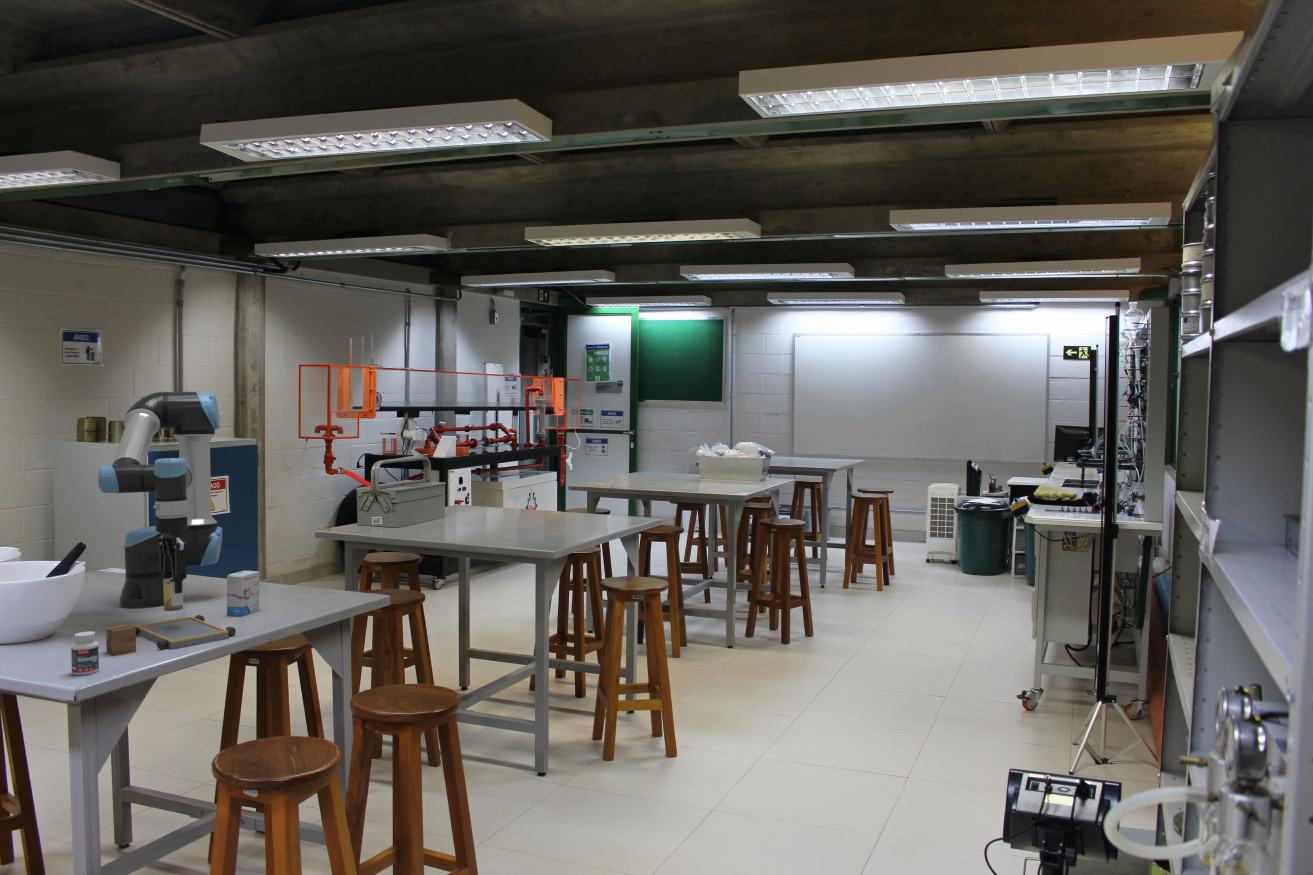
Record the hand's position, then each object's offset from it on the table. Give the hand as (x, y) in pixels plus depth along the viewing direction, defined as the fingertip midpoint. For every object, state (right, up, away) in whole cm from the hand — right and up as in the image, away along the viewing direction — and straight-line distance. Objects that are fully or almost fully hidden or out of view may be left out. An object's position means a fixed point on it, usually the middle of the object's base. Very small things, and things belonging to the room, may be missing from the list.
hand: (173, 603), depth 242 cm
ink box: (+8, -7, +23) cm, 26 cm away
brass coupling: (0, -1, 0) cm, 1 cm away
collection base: (+4, -8, -3) cm, 9 cm away
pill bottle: (-1, -9, -35) cm, 36 cm away
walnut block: (-3, -9, -18) cm, 20 cm away
